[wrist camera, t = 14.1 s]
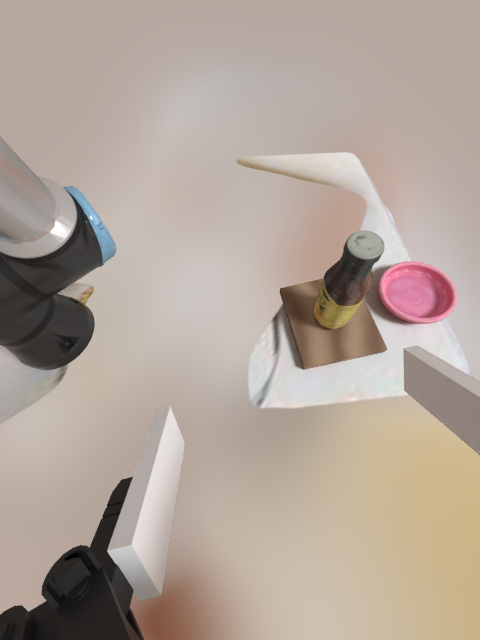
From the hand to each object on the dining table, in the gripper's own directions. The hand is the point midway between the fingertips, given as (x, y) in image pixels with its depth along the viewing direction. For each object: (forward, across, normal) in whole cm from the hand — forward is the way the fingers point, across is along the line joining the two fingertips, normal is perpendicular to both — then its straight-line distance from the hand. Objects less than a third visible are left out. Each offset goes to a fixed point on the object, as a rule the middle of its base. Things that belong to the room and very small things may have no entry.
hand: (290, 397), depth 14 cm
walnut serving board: (+32, +14, -10) cm, 37 cm away
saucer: (+33, +30, -10) cm, 45 cm away
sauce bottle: (+31, +14, -10) cm, 35 cm away
